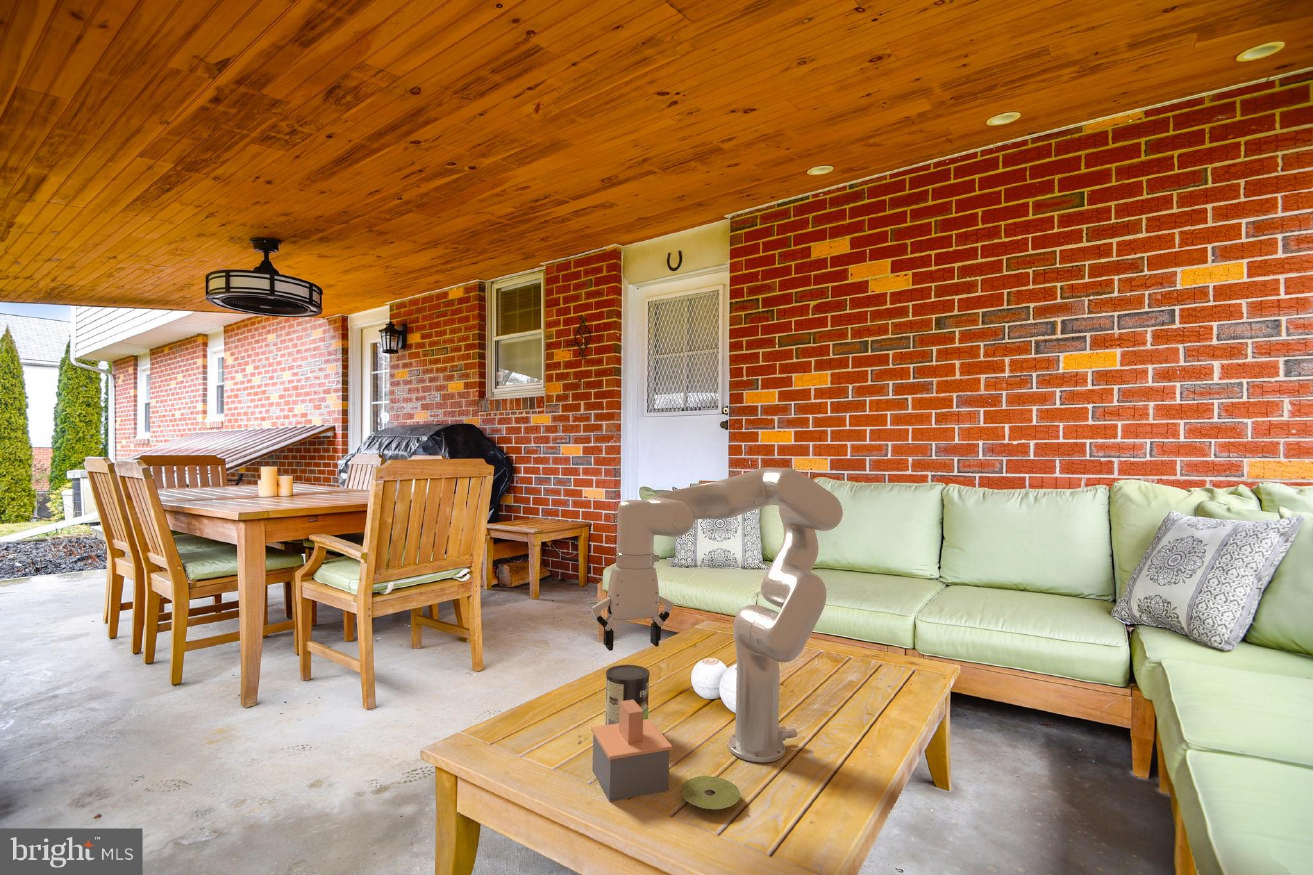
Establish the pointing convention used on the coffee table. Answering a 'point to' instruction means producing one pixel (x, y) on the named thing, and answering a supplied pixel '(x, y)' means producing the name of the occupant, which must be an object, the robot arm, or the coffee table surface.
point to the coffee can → (626, 690)
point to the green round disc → (710, 792)
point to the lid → (630, 734)
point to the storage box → (631, 773)
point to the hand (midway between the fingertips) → (632, 646)
